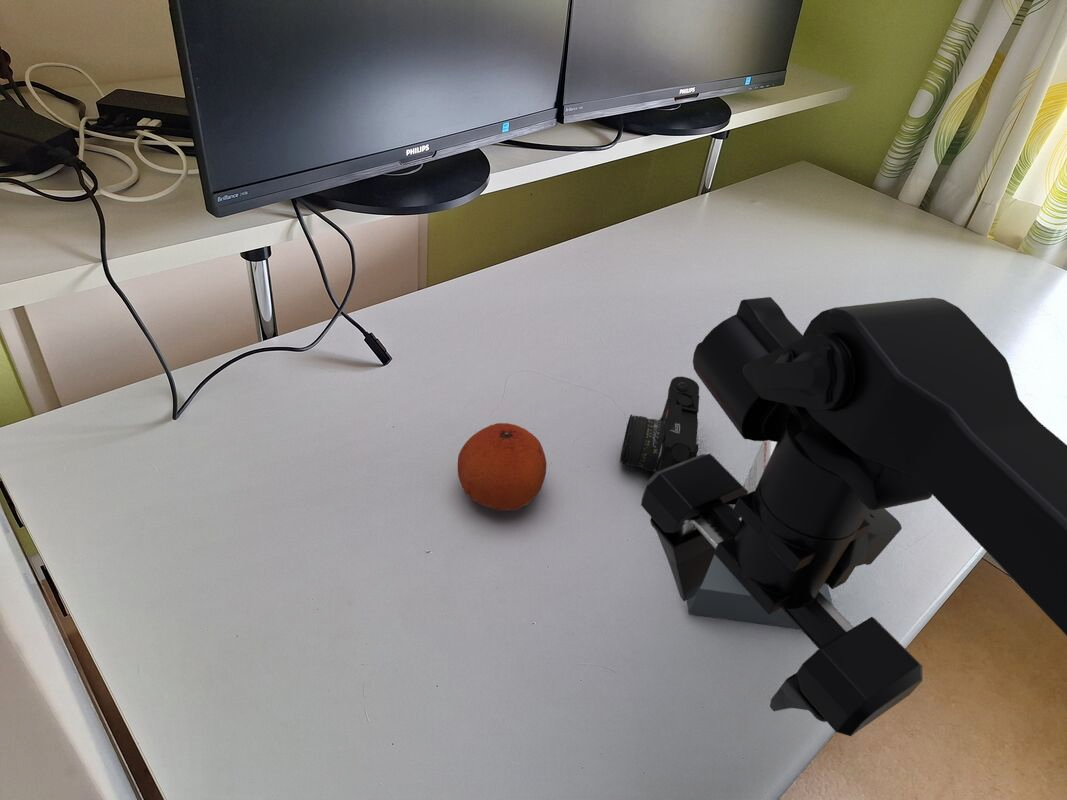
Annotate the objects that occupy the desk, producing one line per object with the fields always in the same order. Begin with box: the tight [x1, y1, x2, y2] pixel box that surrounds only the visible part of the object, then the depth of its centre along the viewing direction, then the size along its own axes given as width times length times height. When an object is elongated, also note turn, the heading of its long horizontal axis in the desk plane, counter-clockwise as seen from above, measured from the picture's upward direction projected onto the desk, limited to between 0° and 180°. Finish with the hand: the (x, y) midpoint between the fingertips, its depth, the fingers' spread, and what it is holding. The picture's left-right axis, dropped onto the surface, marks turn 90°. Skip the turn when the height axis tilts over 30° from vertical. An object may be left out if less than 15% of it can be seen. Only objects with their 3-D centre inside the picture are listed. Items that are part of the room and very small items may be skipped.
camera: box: [619, 376, 700, 476], centre depth 82 cm, size 14×7×8 cm, turn 169°
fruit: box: [457, 422, 547, 511], centre depth 75 cm, size 9×9×8 cm
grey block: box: [686, 504, 834, 630], centre depth 73 cm, size 12×12×4 cm
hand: (729, 648), depth 52 cm, fingers open, 9 cm apart
